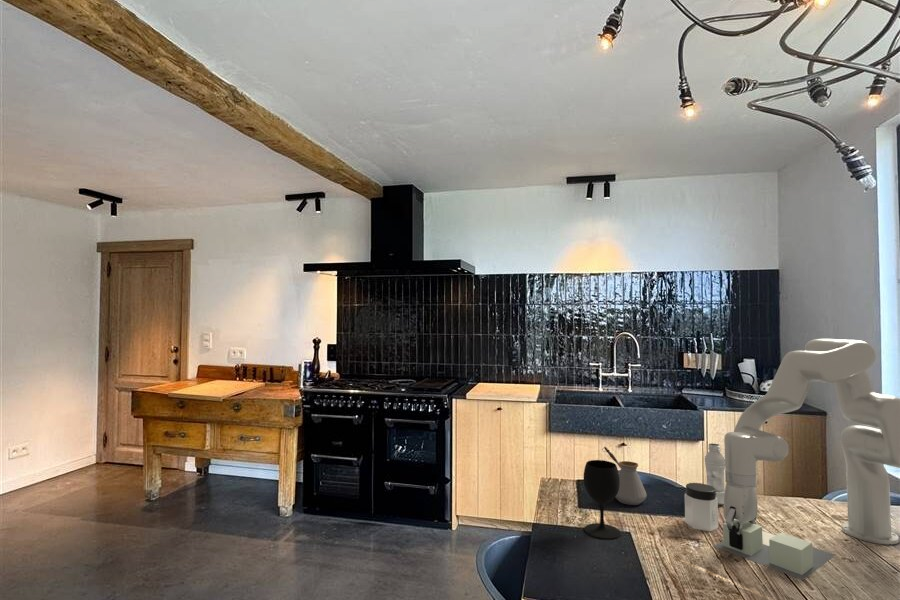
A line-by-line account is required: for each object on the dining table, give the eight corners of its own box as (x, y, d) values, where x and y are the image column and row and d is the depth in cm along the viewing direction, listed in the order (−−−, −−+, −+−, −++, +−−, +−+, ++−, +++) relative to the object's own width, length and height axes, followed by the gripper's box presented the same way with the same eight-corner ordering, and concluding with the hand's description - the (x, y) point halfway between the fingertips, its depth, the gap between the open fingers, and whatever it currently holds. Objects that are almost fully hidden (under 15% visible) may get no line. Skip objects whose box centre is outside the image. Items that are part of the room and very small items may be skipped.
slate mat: (750, 528, 143) (750, 526, 143) (836, 556, 125) (835, 554, 126) (713, 548, 130) (713, 545, 130) (802, 582, 113) (802, 579, 113)
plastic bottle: (702, 503, 163) (701, 444, 164) (708, 498, 167) (707, 441, 168) (723, 508, 158) (721, 448, 159) (729, 503, 163) (727, 444, 164)
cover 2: (781, 555, 125) (780, 532, 125) (813, 566, 119) (812, 542, 120) (770, 563, 121) (769, 539, 121) (802, 575, 115) (801, 550, 116)
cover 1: (735, 539, 135) (734, 517, 135) (762, 548, 129) (762, 526, 129) (723, 545, 131) (722, 523, 131) (750, 555, 125) (750, 532, 125)
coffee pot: (654, 505, 161) (653, 461, 162) (624, 508, 158) (623, 463, 159) (618, 484, 182) (617, 445, 182) (591, 487, 179) (590, 447, 180)
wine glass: (621, 542, 134) (619, 471, 135) (583, 536, 137) (582, 467, 138) (620, 527, 144) (619, 460, 145) (585, 522, 147) (584, 457, 148)
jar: (707, 535, 138) (706, 494, 139) (680, 525, 145) (679, 486, 146) (722, 528, 143) (721, 488, 144) (696, 518, 150) (695, 480, 150)
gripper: (741, 469, 139) (743, 531, 138) (711, 480, 129) (712, 547, 128) (769, 476, 132) (772, 540, 132) (740, 488, 123) (742, 558, 122)
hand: (742, 543), depth 130 cm, fingers closed on cover 1, 7 cm apart
